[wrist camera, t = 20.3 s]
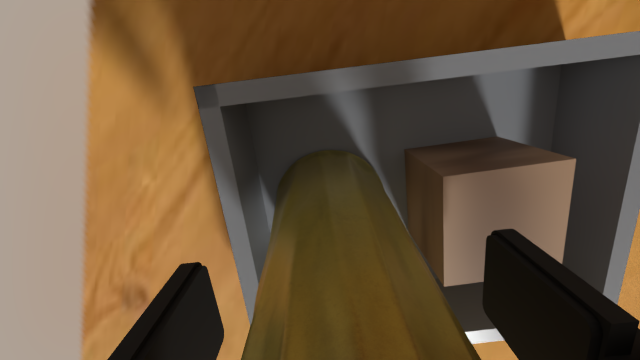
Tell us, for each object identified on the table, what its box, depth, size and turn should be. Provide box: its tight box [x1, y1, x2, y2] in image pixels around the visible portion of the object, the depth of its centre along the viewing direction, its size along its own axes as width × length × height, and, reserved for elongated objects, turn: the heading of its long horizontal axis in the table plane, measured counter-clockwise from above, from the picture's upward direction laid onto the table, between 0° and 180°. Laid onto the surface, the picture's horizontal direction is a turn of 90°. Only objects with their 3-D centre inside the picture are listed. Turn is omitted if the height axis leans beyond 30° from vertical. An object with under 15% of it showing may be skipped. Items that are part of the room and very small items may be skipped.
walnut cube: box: [404, 136, 576, 287], centre depth 14 cm, size 5×5×5 cm
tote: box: [193, 31, 640, 344], centre depth 15 cm, size 18×14×5 cm
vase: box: [241, 150, 481, 360], centre depth 10 cm, size 6×6×14 cm
